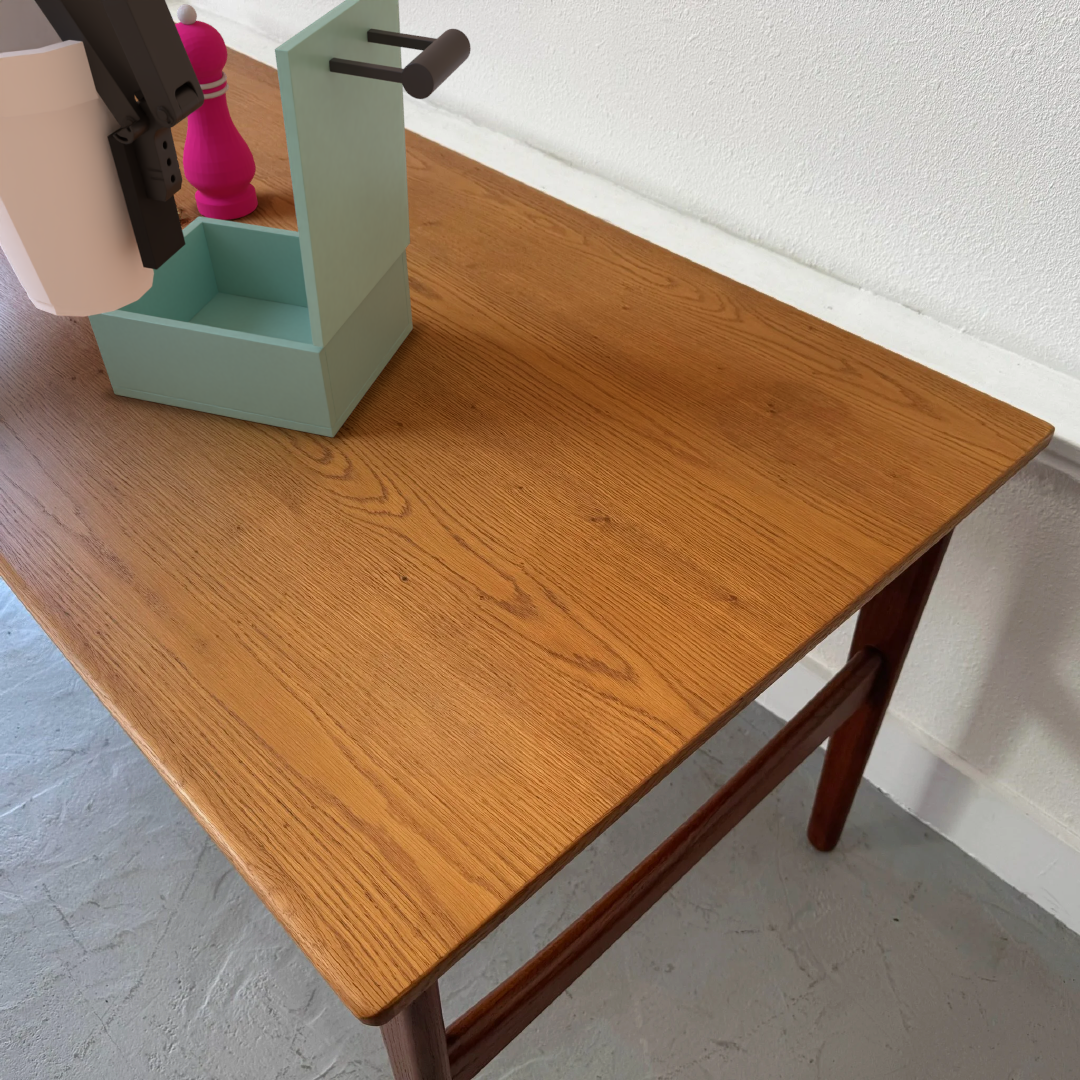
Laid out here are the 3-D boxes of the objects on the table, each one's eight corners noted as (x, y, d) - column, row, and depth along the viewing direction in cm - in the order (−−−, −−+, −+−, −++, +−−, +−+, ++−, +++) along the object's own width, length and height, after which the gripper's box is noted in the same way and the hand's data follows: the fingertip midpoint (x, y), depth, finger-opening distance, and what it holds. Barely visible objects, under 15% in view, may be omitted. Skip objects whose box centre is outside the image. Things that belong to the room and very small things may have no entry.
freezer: (114, 394, 85) (85, 310, 80) (217, 295, 97) (198, 215, 91) (333, 438, 81) (319, 352, 76) (413, 328, 93) (405, 247, 87)
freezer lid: (274, 48, 61) (401, 69, 60) (385, -29, 73) (494, -13, 71) (312, 345, 75) (416, 367, 74) (400, 241, 87) (491, 258, 86)
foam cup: (205, 244, 58) (147, -9, 48) (155, 335, 51) (78, 62, 42) (36, 239, 58) (-53, -15, 49) (-36, 329, 51) (-154, 55, 42)
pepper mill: (245, 186, 114) (205, -12, 100) (274, 210, 110) (237, 7, 96) (182, 203, 111) (133, 1, 97) (210, 229, 106) (162, 22, 93)
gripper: (221, -330, 37) (307, 239, 53) (-268, -356, 42) (-55, 178, 57) (102, -312, 32) (236, 313, 48) (-444, -343, 36) (-157, 241, 52)
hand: (77, 240), depth 52 cm, fingers closed on foam cup, 9 cm apart
